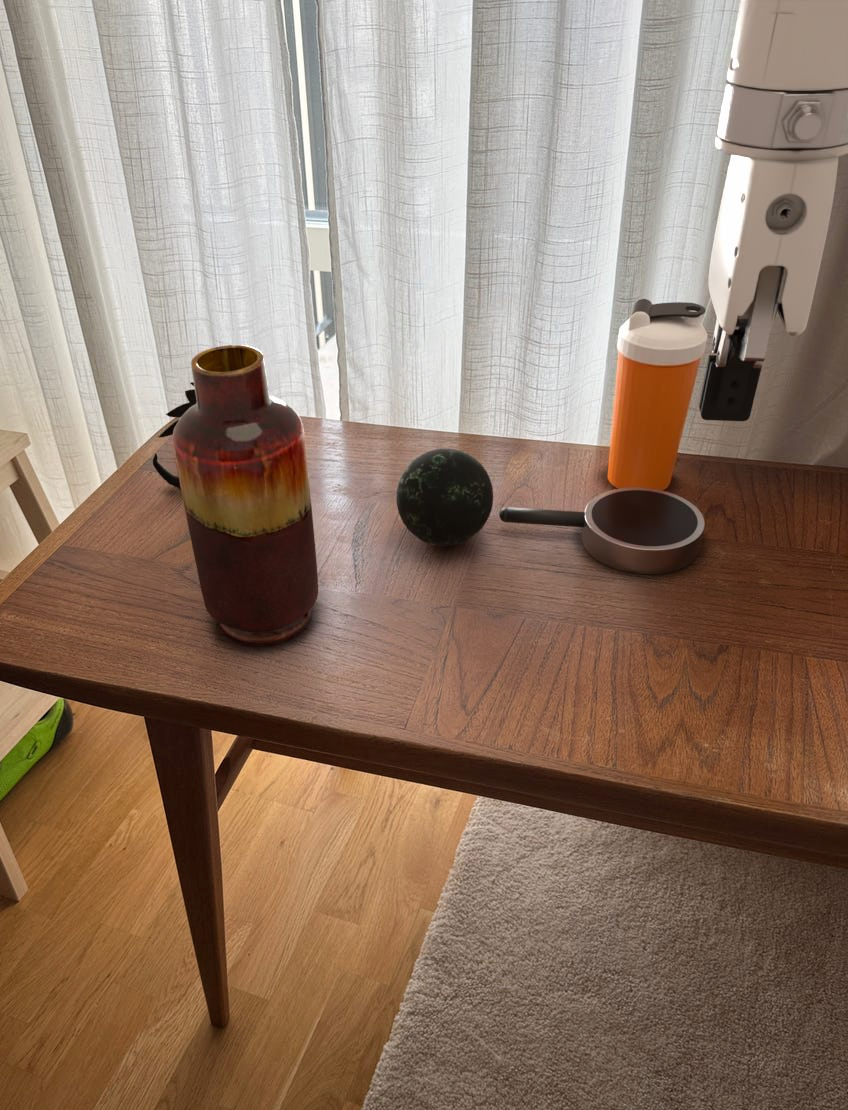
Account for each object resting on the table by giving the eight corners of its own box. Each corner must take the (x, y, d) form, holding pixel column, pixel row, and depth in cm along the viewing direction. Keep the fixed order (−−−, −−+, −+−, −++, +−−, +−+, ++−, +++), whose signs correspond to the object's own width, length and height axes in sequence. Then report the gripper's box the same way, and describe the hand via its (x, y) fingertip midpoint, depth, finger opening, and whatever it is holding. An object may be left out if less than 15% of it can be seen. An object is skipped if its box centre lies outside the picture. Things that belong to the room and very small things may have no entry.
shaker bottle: (682, 501, 102) (718, 323, 89) (600, 497, 103) (624, 322, 90) (674, 462, 109) (707, 291, 96) (597, 459, 110) (620, 290, 97)
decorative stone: (399, 566, 95) (396, 481, 88) (395, 515, 102) (393, 433, 96) (496, 563, 94) (501, 477, 88) (485, 511, 102) (489, 429, 96)
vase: (248, 572, 95) (210, 324, 78) (341, 599, 91) (322, 343, 74) (185, 634, 88) (127, 374, 71) (283, 667, 83) (247, 398, 67)
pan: (694, 514, 100) (700, 490, 98) (704, 579, 91) (710, 553, 89) (502, 502, 103) (504, 478, 101) (493, 563, 94) (494, 538, 92)
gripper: (893, 147, 46) (799, 471, 58) (831, 91, 57) (763, 372, 69) (736, 149, 47) (675, 466, 59) (705, 94, 58) (659, 369, 70)
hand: (723, 414), depth 64 cm, fingers closed
